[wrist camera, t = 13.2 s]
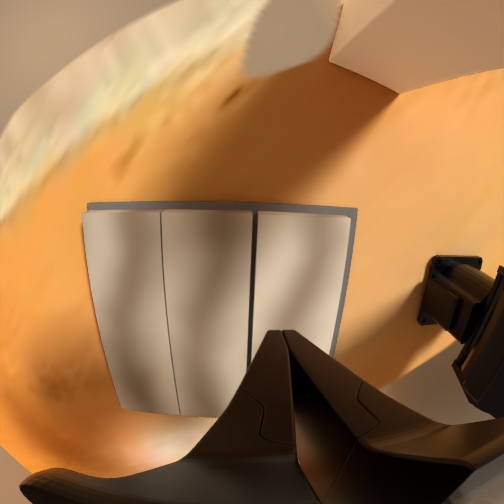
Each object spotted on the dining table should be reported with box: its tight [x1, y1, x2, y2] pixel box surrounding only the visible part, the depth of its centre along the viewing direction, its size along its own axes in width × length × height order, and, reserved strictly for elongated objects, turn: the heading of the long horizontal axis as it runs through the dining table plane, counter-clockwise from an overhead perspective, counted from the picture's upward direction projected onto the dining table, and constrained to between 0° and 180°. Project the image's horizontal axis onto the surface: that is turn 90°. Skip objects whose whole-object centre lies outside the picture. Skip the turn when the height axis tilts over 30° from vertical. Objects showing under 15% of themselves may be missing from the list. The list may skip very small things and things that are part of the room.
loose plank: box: [250, 211, 351, 364], centre depth 22 cm, size 6×18×1 cm, turn 178°
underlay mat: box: [87, 201, 358, 372], centre depth 22 cm, size 19×18×1 cm
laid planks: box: [82, 209, 253, 418], centre depth 21 cm, size 12×18×1 cm, turn 178°
